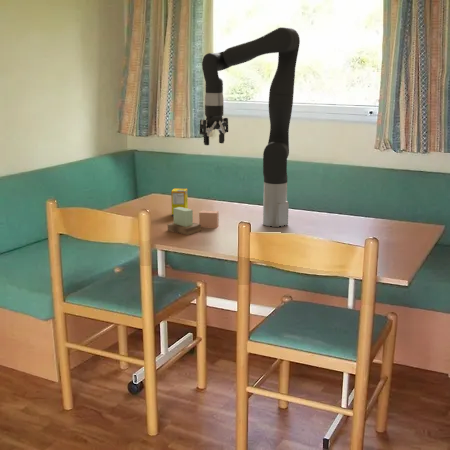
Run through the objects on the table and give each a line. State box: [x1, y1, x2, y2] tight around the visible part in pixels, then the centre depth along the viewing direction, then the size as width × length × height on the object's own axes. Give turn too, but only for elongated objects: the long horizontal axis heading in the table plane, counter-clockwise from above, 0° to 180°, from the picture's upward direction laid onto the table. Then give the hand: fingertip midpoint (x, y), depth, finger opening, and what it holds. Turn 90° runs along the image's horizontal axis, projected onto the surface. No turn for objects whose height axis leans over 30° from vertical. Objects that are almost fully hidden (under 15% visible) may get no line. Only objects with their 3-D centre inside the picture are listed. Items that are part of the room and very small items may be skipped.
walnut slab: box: [167, 222, 202, 236], centre depth 245 cm, size 10×8×3 cm
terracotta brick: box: [198, 209, 220, 229], centre depth 250 cm, size 7×4×6 cm, turn 80°
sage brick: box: [173, 207, 194, 227], centre depth 244 cm, size 7×4×6 cm, turn 46°
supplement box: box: [170, 187, 189, 217], centre depth 267 cm, size 6×6×11 cm
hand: (214, 144), depth 261 cm, fingers open, 8 cm apart
